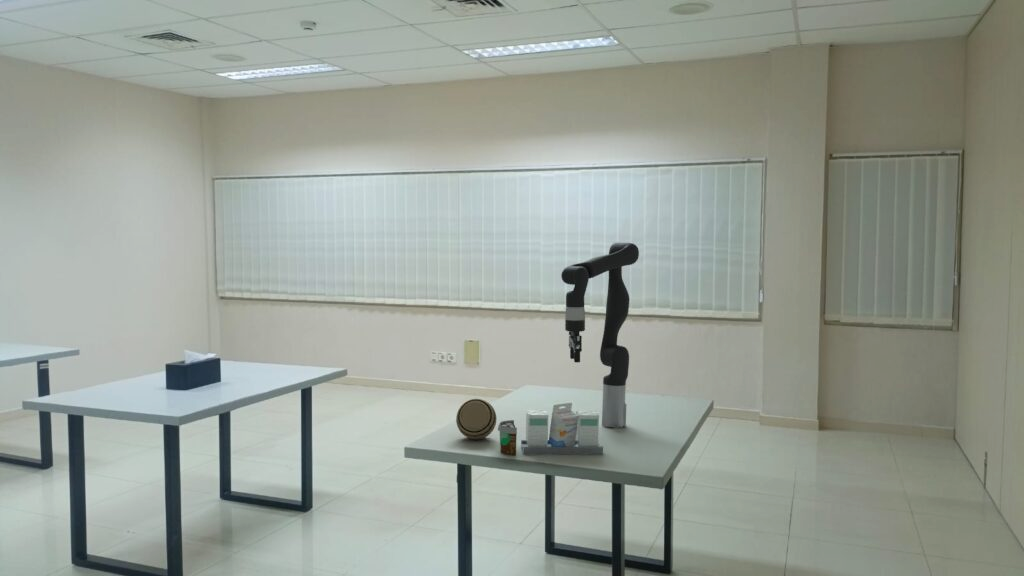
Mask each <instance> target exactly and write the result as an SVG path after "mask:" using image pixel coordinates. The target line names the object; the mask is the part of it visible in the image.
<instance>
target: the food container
mask: <svg viewBox="0 0 1024 576" xmlns="http://www.w3.org/2000/svg"><path fill="white" fill-rule="evenodd" d="M517 429H518V428H517V427H516V425H515V420H513V419H510V420H503V421H499V424H498V426H497V430H498V431H499V446H500V449H499V450H500V454H502V455H507V456H515V457H516V456H517V432H518V431H517Z"/></svg>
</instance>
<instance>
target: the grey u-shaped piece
mask: <svg viewBox="0 0 1024 576" xmlns="http://www.w3.org/2000/svg"><path fill="white" fill-rule="evenodd" d="M525 413H526V414H525V415H526V416H525V418H526V421H525V422H526V423H525V439H521V440H520V441H521V442H520V447H521V451H522V453H523V455H604V446H603V445H602V446H601V445H600V444H599V435H600V434H599V430H600V429H599V428H600V425H599V423H600V415H599V413H598V412H597V411H596V410H576V411H575V414H577V415H578V416H579V417H578V425H577V432H576V440H575V446H552V445H550V444H549V414H548V412H547V410H526V412H525Z"/></svg>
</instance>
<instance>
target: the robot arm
mask: <svg viewBox="0 0 1024 576" xmlns="http://www.w3.org/2000/svg"><path fill="white" fill-rule="evenodd" d="M639 256H640V251H639V247H638V246H637V245H636V244H635V243H634V242H618V241H617V242H613V243H612V244H611V246H610V247H609V250H608V254H604V255H599V256H595V257H592V258H590V259H588V260H585V261H583V262H578V263H573V264H570V265H567V266H566V267H564V268H563V270H562V272H561V280H562V282H563V283H564V284H566V285H572V286H574V287H573V289H572V290H570V291H568V292H566V295H565V313H564V314H565V315H564V317H565V319H564V321H565V325H564V327H565V329H564V330H565V331H566V332H568V347H569V351H570V353H569V357H570V359H571V360H573V362H574V363H580V362H581V353H582V350H583V349H582V342H583V341H582V339H583V336H582V335H580V332H584V331H585V330H586V311H585V296H586V291H587V288H588V284H589V279H593V278H596V277H597V276H600V275H602V274H604V273H606V272H608V281H607V283H608V284H607V294H606V295H607V296H606V298H607V299H606V305H605V318H604V325H603V326H604V328H603V335H602V340H601V346H600V352H599V358H600V359H599V360H600V362H601V364H602V365H604V366H606V367H609V368H610V373H609V374H607V375H605V376H603V378H602V379H603V380H602V410H601V411H602V412H601V425H602V426H603V427H605V428H610V427H614V428H613V429H616V428H615V427H621V428H624V427H623V426H627V403H626V391H627V390H626V389H627V388H626V387H627V386H626V385H627V384H626V383H627V380H628V376H629V365H630V353H629V350H628V348H627V347H626V346H623V345H618V336H619V331H620V330H621V328H622V326H623V325H624V323H625V321H626V319H627V318H628V315H629V310H630V308H629V307H630V295H629V291H628V290H627V287H626V285H625V283H624V280H623V275H622V274H623V272H622V271H623V267H625V266H631V265H634V264H635V263H636V262H638V261H639V260H638V259H639Z"/></svg>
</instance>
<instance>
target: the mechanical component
mask: <svg viewBox="0 0 1024 576" xmlns="http://www.w3.org/2000/svg"><path fill="white" fill-rule="evenodd" d="M455 422H456V426H457V429H458V431H459V432H460V433H461V435H463V436H464V437H465V438H468V439H470V440H482V439H485V438H487V437H489V436H490V435H491V434H492V432H493V431H494V430H495V427H496V425H497V414H496V410H495V408H494V407H493V406H492V404H491V403H490V402H487V400H485V399H481V398H471V399H469V400H467V401H465V402H463V404H461V405H460V407H459V409H458V410H457V412H456V417H455Z"/></svg>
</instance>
